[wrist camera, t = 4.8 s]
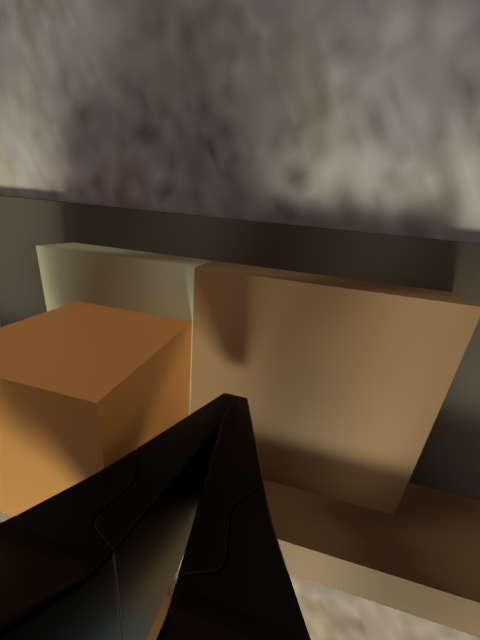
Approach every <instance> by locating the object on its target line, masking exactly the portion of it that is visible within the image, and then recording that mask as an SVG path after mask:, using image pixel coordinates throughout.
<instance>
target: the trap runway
mask: <svg viewBox="0 0 480 640" xmlns="http://www.w3.org/2000/svg"><path fill="white" fill-rule="evenodd" d="M77 301H80V302H85V303H91V304H97V305H102V306H108V307H113V308H119V309H124V310H130V311H136V312H141V313H147V314H152V315H158V316H164V317H169V318H175V319H180V320H186V321H192V342H191V375H190V408H189V415H190V414H192V413H193V412H195V411H196V410H198V409H199V408H201V407H203V406H204V405H206V404H207V403H209V402H210V401H212V400H214V399H215V398H217V397H218V396H220V395H221V394H223V393H228V394H233V395H237V396H241V397H246V398H247V399H248V404H249V409H250V414H251V419H252V424H253V430H254V435H255V440H256V445H257V450H258V455H259V460H260V465H261V471H262V476H263V481H264V487H265V490H266V495H267V500H268V505H269V509H270V513H271V518H272V522H273V526H274V529H275V532H276V536H277V539H278V543H279V546H280V549H281V552H282V555H283V558H284V561H285V564H286V567H287V570H288V573H290V574H293V575H296V576H299V577H302V578H305V579H308V580H311V581H314V582H317V583H320V584H323V585H326V586H329V587H332V588H335V589H338V590H341V591H344V592H347V593H350V594H353V595H356V596H359V597H362V598H365V599H367V600H370V601H373V602H376V603H379V604H382V605H385V606H388V607H391V608H394V609H397V610H400V611H403V612H406V613H409V614H412V615H415V616H418V617H421V618H424V619H427V620H430V621H433V622H436V623H439V624H442V625H445V626H448V627H451V628H454V629H457V630H460V631H463V632H466V633H469V634H472V635H475V636H478V637H480V244H475V243H465V242H455V241H445V240H435V239H425V238H415V237H405V236H395V235H385V234H375V233H365V232H355V231H345V230H335V229H325V228H315V227H305V226H295V225H285V224H275V223H265V222H256V221H246V220H236V219H226V218H216V217H206V216H196V215H186V214H176V213H166V212H156V211H146V210H136V209H126V208H116V207H106V206H96V205H86V204H76V203H66V202H56V201H46V200H36V199H26V198H16V197H6V196H0V324H1V327H3V326H6V325H9V324H12V323H15V322H18V321H21V320H24V319H27V318H30V317H32V316H35V315H38V314H41V313H44V312H47V311H50V310H53V309H56V308H59V307H62V306H65V305H68V304H71V303H74V302H77Z"/></svg>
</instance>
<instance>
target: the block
mask: <svg viewBox="0 0 480 640" xmlns="http://www.w3.org/2000/svg"><path fill="white" fill-rule="evenodd" d="M191 342H192V321H186V320H180V319H175V318H169V317H164V316H158V315H152V314H147V313H141V312H136V311H130V310H124V309H119V308H113V307H108V306H102V305H97V304H91V303H85V302H80V301H77V302H74V303H71V304H68V305H65V306H62V307H59V308H56V309H53V310H50V311H47V312H44V313H41V314H38V315H35V316H32V317H30V318H27V319H24V320H21V321H18V322H15V323H12V324H9V325H6V326H3V327H0V512H3V513H5V514H8V515H11V516H13V517H14V516H16V515H18V514H20V513H22V512H24V511H26V510H27V509H29V508H31V507H33V506H35V505H37V504H39V503H41V502H43V501H45V500H47V499H48V498H50V497H52V496H54V495H56V494H58V493H60V492H62V491H64V490H66V489H67V488H69V487H71V486H73V485H75V484H77V483H79V482H81V481H83V480H84V479H86V478H88V477H90V476H92V475H93V474H95V473H97V472H99V471H101V470H103V469H104V468H106V467H108V466H109V465H111V464H112V463H114V462H116V461H117V460H119V459H121V458H122V457H124V456H126V455H127V454H129V453H130V452H132V451H133V450H137V448H138V447H140V446H141V445H143V444H145V443H146V442H148V441H149V440H151V439H152V438H154V437H156V436H157V435H159V434H160V433H162V432H163V431H165V430H166V429H168V428H170V427H171V426H173V425H174V424H176V423H177V422H179V421H181V420H182V419H184V418H185V417H187V416H188V415H189V408H190V375H191Z"/></svg>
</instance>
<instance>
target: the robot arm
mask: <svg viewBox="0 0 480 640" xmlns="http://www.w3.org/2000/svg"><path fill="white" fill-rule="evenodd" d="M184 552H185V553H184ZM183 555H184V557H183ZM182 557H183V560H182V564H181V567H180V571H179V575H178V579H177V582H176V586H175V589H174V593H173V596H172V599H171V602H170V605H169V608H168V611H167V614H166V617H165V620H164V622H163V625H162V627H161V630H160V632H159V634H158V637H157V639H156V640H311V639H310V636H309V633H308V631H307V628H306V625H305V622H304V619H303V616H302V613H301V610H300V607H299V604H298V601H297V598H296V595H295V592H294V589H293V586H292V583H291V580H290V577H289V574H288V570H287V567H286V564H285V561H284V558H283V555H282V552H281V549H280V546H279V543H278V539H277V536H276V532H275V529H274V526H273V522H272V518H271V513H270V509H269V505H268V500H267V495H266V490H265V487H264V481H263V476H262V471H261V465H260V460H259V455H258V450H257V445H256V440H255V435H254V430H253V424H252V419H251V414H250V409H249V404H248V399H247V398H246V397H241V396H237V395H233V394H228V393H223V394H221V395H220V396H218V397H217V398H215V399H214V400H212V401H210V402H209V403H207V404H206V405H204V406H203V407H201V408H199V409H198V410H196V411H195V412H193V413H192V414H190V415H188V416H187V417H185V418H184V419H182V420H181V421H179V422H177V423H176V424H174V425H173V426H171V427H170V428H168V429H166V430H165V431H163V432H162V433H160V434H159V435H157V436H156V437H154V438H152V439H151V440H149V441H148V442H146V443H145V444H143V445H141V446H140V447H138V448H137V450H133V451H132V452H130V453H129V454H127V455H126V456H124V457H122V458H121V459H119V460H117V461H116V462H114V463H112V464H111V465H109V466H108V467H106V468H104V469H103V470H101V471H99V472H97V473H95V474H93V475H92V476H90V477H88V478H86V479H84V480H83V481H81V482H79V483H77V484H75V485H73V486H71V487H69V488H67V489H66V490H64V491H62V492H60V493H58V494H56V495H54V496H52V497H50V498H48V499H47V500H45V501H43V502H41V503H39V504H37V505H35V506H33V507H31V508H29V509H27V510H26V511H24V512H22V513H20V514H18V515H16V516H14V517H12V518H10V519H8V520H6V521H4V522H1V523H0V640H147V639H148V636H149V634H150V632H151V629H152V627H153V625H154V622H155V620H156V618H157V615H158V613H159V611H160V608H161V606H162V604H163V601H164V599H165V597H166V594H167V592H168V590H169V587H170V585H171V583H172V580H173V578H174V576H175V573H176V571H177V569H178V566H179V564H180V562H181V559H182Z"/></svg>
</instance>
